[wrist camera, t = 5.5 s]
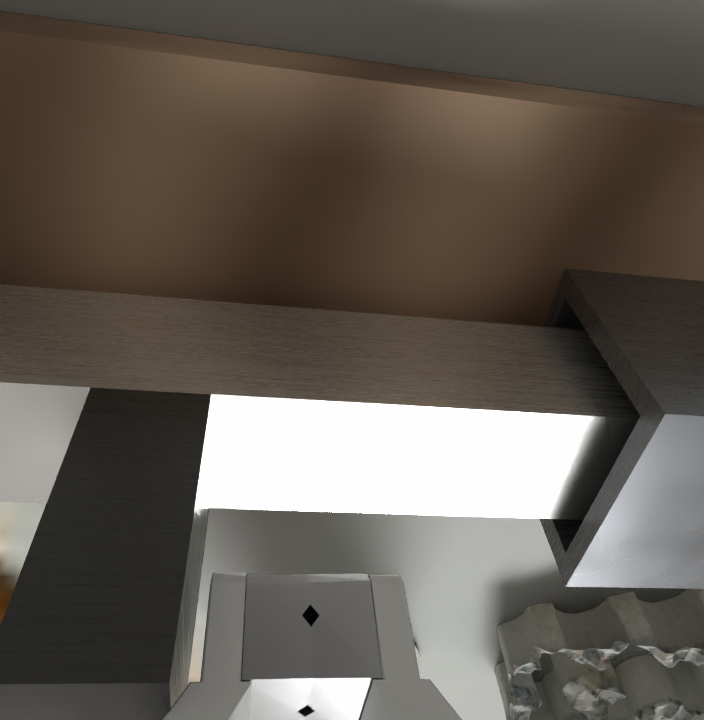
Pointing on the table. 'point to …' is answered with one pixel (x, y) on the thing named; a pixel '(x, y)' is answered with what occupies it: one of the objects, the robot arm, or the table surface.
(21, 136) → the base board
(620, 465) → the sleeve
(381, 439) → the light grey bar piece
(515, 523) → the table surface
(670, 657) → the egg carton
